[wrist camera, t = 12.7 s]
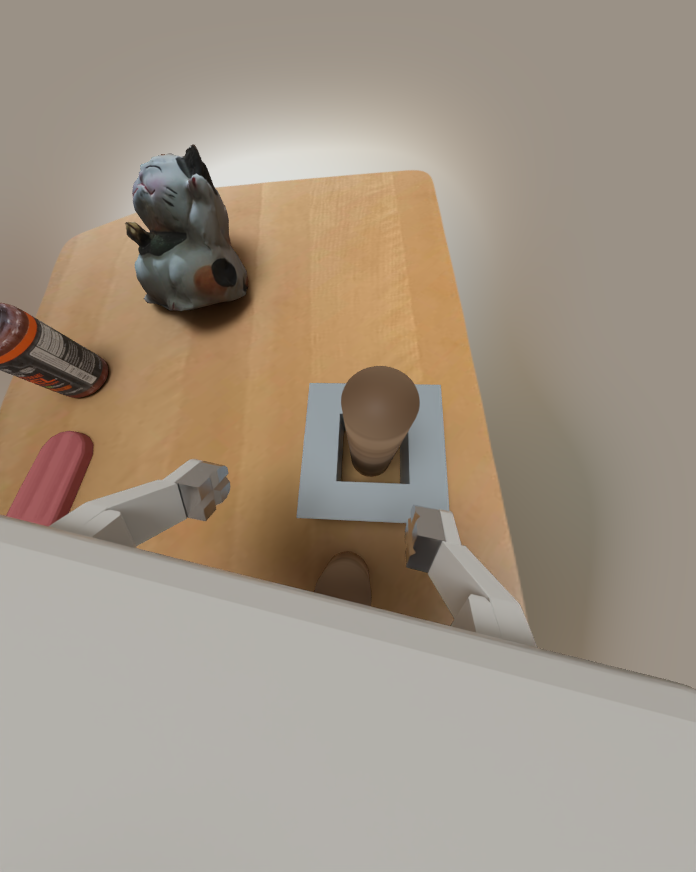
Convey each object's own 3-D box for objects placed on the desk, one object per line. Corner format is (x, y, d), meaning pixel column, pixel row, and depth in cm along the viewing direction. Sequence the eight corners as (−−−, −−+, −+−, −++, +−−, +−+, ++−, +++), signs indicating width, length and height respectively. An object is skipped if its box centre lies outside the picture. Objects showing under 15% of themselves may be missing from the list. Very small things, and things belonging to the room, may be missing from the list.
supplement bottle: (57, 401, 30) (-114, 339, 19) (71, 358, 32) (-78, 279, 21) (104, 398, 30) (-42, 334, 19) (116, 355, 32) (-11, 274, 21)
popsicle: (-28, 576, 24) (48, 427, 28) (-5, 572, 25) (64, 431, 29) (22, 586, 23) (91, 433, 27) (42, 582, 25) (105, 437, 29)
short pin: (368, 601, 22) (370, 632, 17) (324, 598, 23) (311, 628, 17) (369, 553, 24) (371, 566, 18) (327, 550, 24) (316, 563, 18)
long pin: (389, 477, 25) (421, 439, 12) (350, 475, 26) (338, 436, 12) (389, 439, 27) (418, 366, 13) (352, 438, 27) (342, 365, 13)
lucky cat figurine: (135, 296, 34) (54, 140, 25) (220, 282, 40) (183, 152, 31) (176, 328, 27) (83, 122, 17) (272, 305, 33) (245, 144, 23)
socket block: (432, 522, 24) (450, 525, 19) (309, 516, 25) (296, 517, 20) (426, 407, 27) (440, 385, 23) (318, 404, 28) (309, 382, 23)
